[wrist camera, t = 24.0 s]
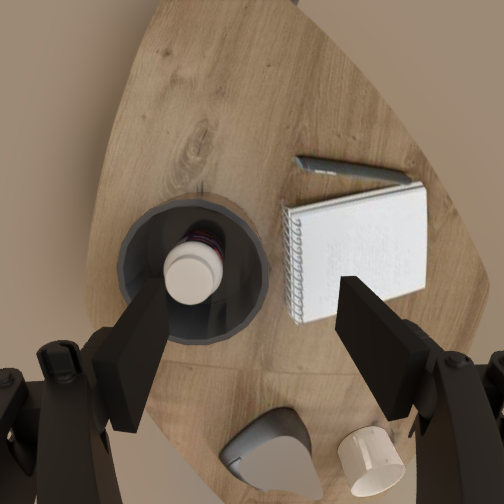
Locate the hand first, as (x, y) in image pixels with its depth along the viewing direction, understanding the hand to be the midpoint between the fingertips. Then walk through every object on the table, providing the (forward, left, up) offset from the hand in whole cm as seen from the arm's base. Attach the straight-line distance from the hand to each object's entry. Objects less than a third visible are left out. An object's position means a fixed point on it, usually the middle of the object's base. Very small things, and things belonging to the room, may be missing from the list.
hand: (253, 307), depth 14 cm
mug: (+36, +19, -22) cm, 46 cm away
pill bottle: (+3, -5, -21) cm, 22 cm away
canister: (+3, -5, -22) cm, 22 cm away
